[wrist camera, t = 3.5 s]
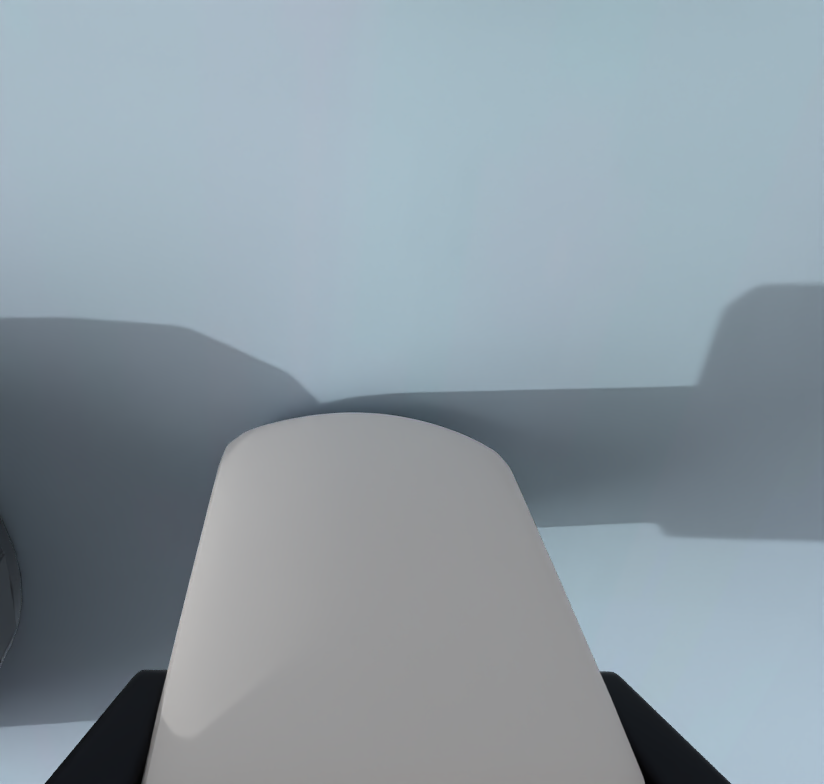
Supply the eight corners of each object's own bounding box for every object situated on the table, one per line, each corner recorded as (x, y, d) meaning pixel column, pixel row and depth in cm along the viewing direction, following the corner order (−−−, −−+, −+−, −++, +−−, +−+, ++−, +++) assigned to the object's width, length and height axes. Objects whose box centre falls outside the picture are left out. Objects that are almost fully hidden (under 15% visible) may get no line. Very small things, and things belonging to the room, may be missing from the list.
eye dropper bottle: (409, 608, 15) (598, 1857, 5) (183, 494, 13) (-357, 2205, 3) (538, 471, 14) (1187, 1759, 4) (309, 323, 12) (207, 2276, 2)
